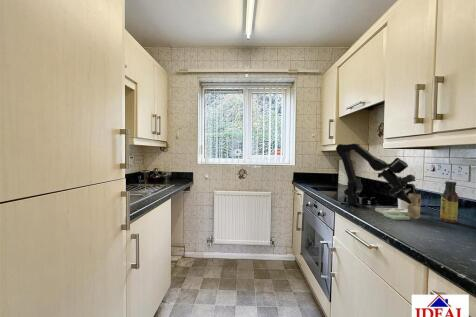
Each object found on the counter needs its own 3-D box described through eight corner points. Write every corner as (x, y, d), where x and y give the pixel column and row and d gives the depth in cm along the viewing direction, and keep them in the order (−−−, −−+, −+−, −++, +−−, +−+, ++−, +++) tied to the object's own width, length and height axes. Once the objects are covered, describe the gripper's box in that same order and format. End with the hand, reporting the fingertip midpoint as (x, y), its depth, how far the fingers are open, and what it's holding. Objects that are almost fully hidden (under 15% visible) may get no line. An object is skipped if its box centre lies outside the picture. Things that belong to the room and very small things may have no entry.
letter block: (407, 216, 123) (408, 193, 123) (410, 215, 125) (411, 193, 125) (416, 218, 120) (418, 195, 119) (420, 217, 122) (421, 194, 122)
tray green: (383, 215, 125) (383, 212, 125) (398, 215, 125) (398, 212, 125) (394, 219, 117) (394, 216, 117) (410, 220, 117) (410, 217, 117)
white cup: (406, 211, 135) (407, 193, 135) (393, 208, 143) (394, 191, 143) (416, 210, 137) (417, 193, 137) (404, 207, 145) (404, 191, 145)
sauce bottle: (439, 218, 121) (441, 180, 120) (456, 221, 117) (458, 181, 116) (440, 221, 116) (442, 181, 115) (457, 224, 112) (459, 182, 111)
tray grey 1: (375, 210, 135) (375, 208, 135) (388, 210, 135) (388, 208, 135) (384, 214, 127) (384, 211, 127) (399, 214, 127) (399, 211, 127)
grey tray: (390, 210, 135) (390, 208, 135) (403, 211, 136) (403, 208, 136) (400, 214, 127) (400, 211, 127) (415, 214, 128) (415, 212, 128)
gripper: (396, 169, 121) (421, 194, 112) (411, 169, 131) (435, 191, 122) (379, 183, 128) (401, 207, 119) (395, 181, 138) (417, 204, 129)
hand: (414, 202), depth 122 cm, fingers open, 9 cm apart
